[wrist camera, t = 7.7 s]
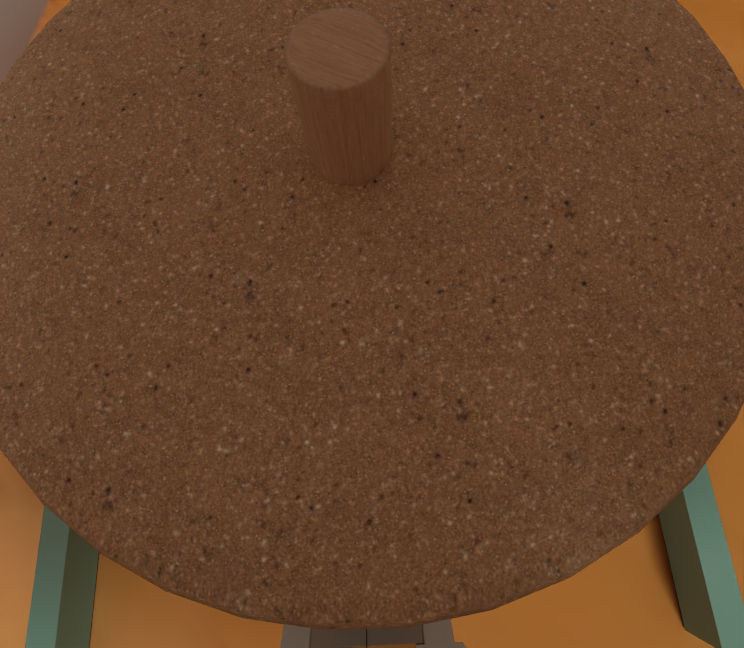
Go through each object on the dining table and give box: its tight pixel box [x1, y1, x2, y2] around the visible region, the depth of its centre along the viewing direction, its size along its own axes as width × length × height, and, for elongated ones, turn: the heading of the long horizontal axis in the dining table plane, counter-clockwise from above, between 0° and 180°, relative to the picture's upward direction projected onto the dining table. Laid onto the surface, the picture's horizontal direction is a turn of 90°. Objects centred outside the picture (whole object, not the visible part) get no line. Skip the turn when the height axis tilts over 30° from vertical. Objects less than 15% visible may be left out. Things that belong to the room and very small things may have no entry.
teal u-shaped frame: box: [25, 463, 744, 648], centre depth 15 cm, size 18×19×2 cm
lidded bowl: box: [0, 0, 744, 630], centre depth 10 cm, size 13×13×11 cm
